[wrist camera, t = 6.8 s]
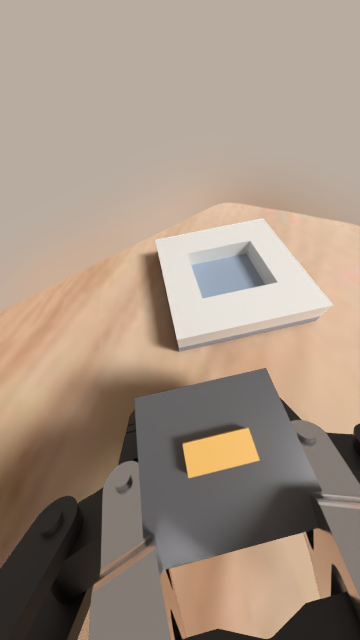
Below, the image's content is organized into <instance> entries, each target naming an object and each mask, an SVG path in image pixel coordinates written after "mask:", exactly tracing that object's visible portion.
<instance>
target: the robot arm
mask: <svg viewBox="0 0 360 640" xmlns="http://www.w3.org/2000/svg"><path fill="white" fill-rule="evenodd" d="M280 400H281V402H282V404H283V406H284V409H285V411H286V413H287V415H288V417H289V419H290V422H291V424H292V426H293V428H294V430H295V432H296V435H297V437H298V439H299V441H300V443H301V446H302V448H303V450H304V452H305V454H306V456H307V459H308V461H309V463H310V465H311V467H312V469H313V472H314V474H315V476H316V478H317V480H318V483H319V485H320V487H321V489H322V491H320V492H313V493H309V495H310V499H311V503H312V507H313V510H314V514H315V518H316V522H317V525H318V528H317V529H313V530H310V531H306V532H303V534H304V537H305V540H306V543H307V546H308V550H309V553H310V556H311V560H312V564H313V569H314V574H315V579H316V583H317V587H318V591H319V594H320V598H321V599H319V600H315V601H312V602H309V603H306V604H305V605H304V606H303V607H302V608H301V609H300V610H299V611H298V612H297V613H296V614H295V615H294V616H293V617H292V618H291V619H290V620H289V621H288V622H287V623H286V624H285V625H284V626H283V627H282V628H281V629H280V630H279V631H278V632H277V633H276V634H275V635H274V636H273V637H272V638H270V639H262V638H257V637H253V636H248V635H244V634H239V633H235V632H230V631H226V630H221V629H216V630H212V631H209V632H205V633H202V634H198V635H195V636H191V637H188V638H187V636H186V632H185V628H184V624H183V620H182V616H181V612H180V609H179V605H178V601H177V597H176V593H175V589H174V584H173V580H172V575H171V571H170V568H169V569H166V570H163V567H162V563H161V559H160V555H159V550H158V546H157V542H156V538H155V534H153V535H151V536H148V537H146V538H143V528H142V512H141V496H140V481H139V465H138V450H137V434H136V419H135V409H134V411H133V412H132V414H131V415H130V418H129V422H128V427H127V430H126V435H125V439H124V443H123V447H122V451H121V455H120V460H119V464H118V466H117V467H116V468H115V469H114V470H113V471H112V472H111V473H110V474H109V476H108V477H107V479H106V481H105V484H104V487H103V488H102V489H100V490H99V491H97V492H96V493H94V494H92V495H91V496H89V497H87V498H86V499H84V500H82V501H81V502H79V503H77V501H76V500H75V498H73V497H71V496H65V497H62V498H59V499H57V500H56V501H54V502H53V503H51V504H50V505H49V506H48V507H47V508H45V509H44V510H43V511H42V513H41V514H40V515H39V516H38V517H37V519H36V520H35V521H34V523H33V524H32V525H31V527H30V528H29V530H28V531H27V532H26V534H25V535H24V537H23V538H22V539H21V541H20V542H19V544H18V545H17V546H16V548H15V549H14V551H13V552H12V553H11V555H10V556H9V558H8V559H7V560H6V562H5V563H4V565H3V566H2V567H1V569H0V640H77V639H78V636H79V633H80V631H81V628H82V625H83V623H84V620H85V617H86V615H87V612H88V609H89V607H90V604H91V607H90V624H89V640H360V424H358V425H356V426H355V427H354V434H336V433H327V432H325V431H324V430H322V429H321V428H320V427H318V426H317V425H315V424H313V423H310V422H308V421H303V420H301V419H300V418H299V417H298V416H297V415H296V414H295V413H294V412H293V411H292V410H291V408H290V407H289V406H288V405H287V404H286V403H285V402H284V401H283V400H282V399H281V398H280Z"/></svg>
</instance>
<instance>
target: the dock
mask: <svg viewBox="0 0 360 640" xmlns="http://www.w3.org/2000/svg"><path fill="white" fill-rule="evenodd" d="M155 241H156V246H157V250H158V255H159V259H160V264H161V269H162V273H163V278H164V282H165V287H166V292H167V296H168V301H169V305H170V310H171V315H172V319H173V324H174V328H175V333H176V338H177V342H178V347H179V351H183V350H188V349H192V348H197V347H201V346H206V345H210V344H214V343H219V342H223V341H228V340H232V339H237V338H241V337H245V336H250V335H254V334H259V333H263V332H268V331H272V330H276V329H281V328H285V327H290V326H294V325H299V324H303V323H308V322H312V321H316V320H317V319H318V318H319V317H320V316H322V315H323V314H324V313H325V312H326V311H327V310H329V309H330V308H331V307H332V306H333V304H332V303H331V302H330V300H329V299H328V298H327V297H326V295H325V294H324V293H323V292H322V291H321V289H320V288H319V287H318V286H317V284H316V283H315V282H314V281H313V279H312V278H311V277H310V276H309V274H308V273H307V272H306V271H305V270H304V268H303V267H302V266H301V265H300V263H299V262H298V261H297V260H296V258H295V257H294V256H293V255H292V254H291V252H290V251H289V250H288V249H287V247H286V246H285V245H284V244H283V242H282V241H281V240H280V239H279V238H278V236H277V235H276V234H275V233H274V231H273V230H272V229H271V228H270V226H269V225H268V224H267V223H266V221H265V220H264V219H263V218H261V219H256V220H251V221H246V222H241V223H236V224H231V225H226V226H221V227H216V228H211V229H206V230H201V231H196V232H191V233H186V234H181V235H176V236H171V237H166V238H161V239H156V240H155Z"/></svg>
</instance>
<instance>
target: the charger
mask: <svg viewBox="0 0 360 640" xmlns="http://www.w3.org/2000/svg"><path fill="white" fill-rule="evenodd" d="M134 403H135V419H136V434H137V450H138V465H139V481H140V496H141V512H142V528H143V538H146V537H148V536H151V535H153V534H155V538H156V542H157V546H158V550H159V555H160V559H161V563H162V567H163V570H166V569H169V568H173V567H177V566H180V565H184V564H188V563H191V562H195V561H199V560H203V559H206V558H210V557H214V556H217V555H221V554H225V553H228V552H232V551H236V550H240V549H243V548H247V547H251V546H254V545H258V544H262V543H265V542H269V541H273V540H276V539H280V538H284V537H288V536H291V535H295V534H299V533H302V532H306V531H310V530H313V529H317V528H318V525H317V522H316V518H315V514H314V510H313V507H312V503H311V499H310V495H309V493H313V492H320V491H322V489H321V487H320V485H319V483H318V480H317V478H316V476H315V474H314V472H313V469H312V467H311V465H310V463H309V461H308V459H307V456H306V454H305V452H304V450H303V448H302V446H301V443H300V441H299V439H298V437H297V435H296V432H295V430H294V428H293V426H292V424H291V422H290V419H289V417H288V415H287V413H286V411H285V409H284V406H283V404H282V402H281V400H280V398H279V395H278V393H277V391H276V389H275V387H274V385H273V382H272V380H271V378H270V376H269V374H268V371H267V369H266V368H264V369H259V370H255V371H251V372H246V373H242V374H238V375H233V376H229V377H224V378H220V379H216V380H211V381H207V382H203V383H198V384H194V385H190V386H185V387H181V388H177V389H172V390H168V391H164V392H159V393H155V394H151V395H146V396H142V397H138V398H134Z"/></svg>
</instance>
